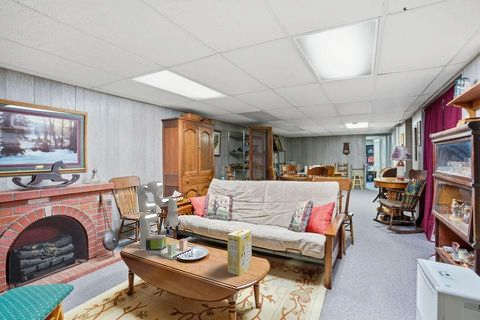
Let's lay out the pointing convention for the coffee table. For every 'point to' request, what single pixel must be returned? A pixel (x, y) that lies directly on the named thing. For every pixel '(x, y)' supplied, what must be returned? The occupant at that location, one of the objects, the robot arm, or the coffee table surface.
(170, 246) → the sage carton
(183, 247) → the terracotta carton
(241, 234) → the pasta box
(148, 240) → the tea box
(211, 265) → the coffee table surface
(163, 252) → the shelf
